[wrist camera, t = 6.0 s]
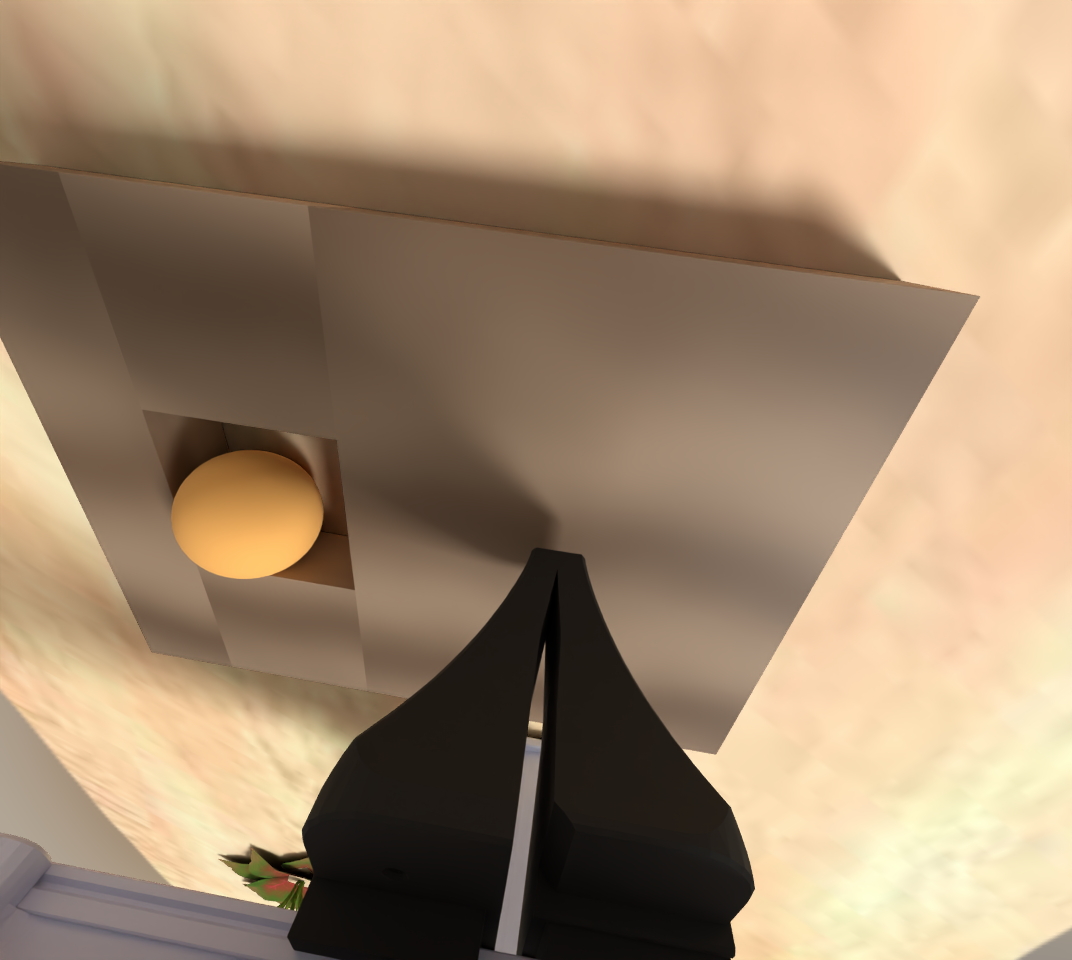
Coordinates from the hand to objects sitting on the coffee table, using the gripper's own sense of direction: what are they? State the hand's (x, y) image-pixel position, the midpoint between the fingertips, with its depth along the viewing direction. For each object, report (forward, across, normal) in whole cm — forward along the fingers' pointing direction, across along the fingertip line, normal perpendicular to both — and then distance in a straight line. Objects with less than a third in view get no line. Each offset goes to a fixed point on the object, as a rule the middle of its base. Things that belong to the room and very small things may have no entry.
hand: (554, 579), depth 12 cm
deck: (+3, +4, 0) cm, 5 cm away
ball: (+1, +10, +1) cm, 10 cm away
